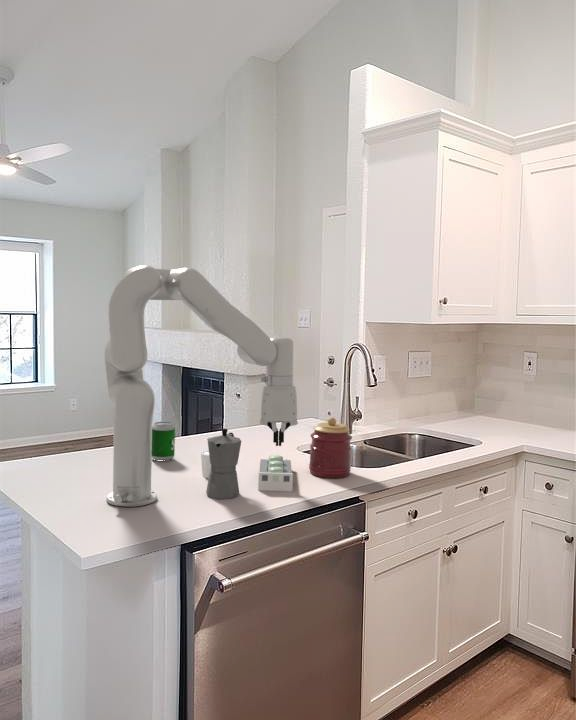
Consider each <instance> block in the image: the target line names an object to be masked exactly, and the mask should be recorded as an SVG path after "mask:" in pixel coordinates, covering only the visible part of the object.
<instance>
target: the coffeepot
mask: <svg viewBox="0 0 576 720" xmlns="http://www.w3.org/2000/svg"><path fill="white" fill-rule="evenodd" d="M221 434H222V435H218V436H217V435H216V436H213V437H208V438H207V447H208V448H207V449H208V451H209V457H210V464H211V471H210V475H209V478H208V480H207V481H208V482H207V485H206V491H205V493H206V495H207V497H209V498H210V497H211V499H214V498H215V500H231V499H230V498H232V499H235V498H238V497H239V496H240V494H241V493H240V488H239V481H238V480H239V479H238V473H237V469H236V468H237V465H238V463H239V457H240V452H241V445H242V440H241V438H240V437H236V436H235V435H234V433H233V432H229V431H228V429H227V428H222V429H221Z"/></svg>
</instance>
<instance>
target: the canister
mask: <svg viewBox="0 0 576 720" xmlns="http://www.w3.org/2000/svg"><path fill="white" fill-rule="evenodd" d="M313 430H314V431H313V432H312V433H310V438H311V444H310V445H309V447H310V448H309V449H310V450H309V451H310V453H309V464H308V466H309V468H308V469H309V473H310V474H311V475H312V476H315V477H319V478H326V479H341V478H346V477H349V476H350V473H351V471H352V470H351V469H352V468H351V467H352V466H351V462H352V461H351V458H352V446H351V441H352V439H353V436H352V435H351V434H350V433H349V432H350V428H349V427H347V426H346V424H343V423H341V422H339V423H338V422H337V419H336V418H335V417H329V418H328V419H327V422H320V423H318V424H316V425H315V426H313Z"/></svg>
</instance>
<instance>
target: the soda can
mask: <svg viewBox="0 0 576 720" xmlns="http://www.w3.org/2000/svg"><path fill="white" fill-rule="evenodd" d="M175 441H176V426H175V425H174V423H173V422H170V421H156V422H153V424H152V460H154V459H155V460H163V461H164V460H170V459H172V460H173V458H174V457H175V452H176V451H175V449H176V447H175V446H176V445H175V444H176V442H175ZM155 460H154V461H155ZM170 461H171V460H170Z"/></svg>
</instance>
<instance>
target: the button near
mask: <svg viewBox="0 0 576 720" xmlns="http://www.w3.org/2000/svg"><path fill="white" fill-rule="evenodd" d="M283 471H284V469H283V468H282V467H269V468H268V473H283Z"/></svg>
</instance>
